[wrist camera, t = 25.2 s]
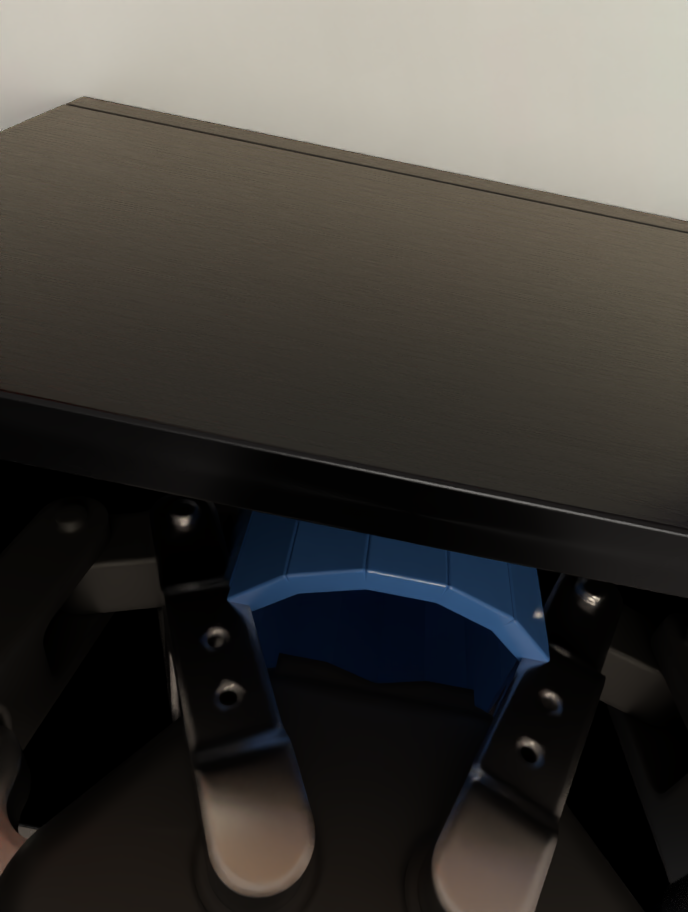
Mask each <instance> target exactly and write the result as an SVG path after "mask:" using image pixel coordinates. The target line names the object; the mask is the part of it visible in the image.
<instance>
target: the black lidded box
mask: <svg viewBox="0 0 688 912" xmlns="http://www.w3.org/2000/svg"><path fill="white" fill-rule="evenodd" d="M168 494H172V495H177V496H181V497H186V498H191V499H196V500H201V501H206V502H211V503H216V504H221V505H226V506H231V507H236V508H241V509H246V510H250V511H255V512H260V513H265V514H270V515H275V516H280V517H285V518H290V519H295V520H300V521H305V522H310V523H314V524H319V525H324V526H329V527H334V528H339V529H344V530H349V531H354V532H359V533H364V534H369V535H374V536H379V537H383V538H388V539H393V540H398V541H403V542H408V543H413V544H418V545H423V546H428V547H433V548H438V549H443V550H447V551H452V552H457V553H462V554H467V555H472V556H477V557H482V558H487V559H492V560H497V561H502V562H507V563H512V564H516V565H521V566H526V567H531V568H536V569H541V570H546V571H551V572H556V573H561V574H566V575H571V576H576V577H581V578H585V579H590V580H595V581H600V582H605V583H610V584H614V585H615V586H616V587H617V588H618V590H619V592H620V594H621V596H622V599H623V603H624V604H625V605H627V606H629V607H630V608H632V609H634V610H636V611H638V612H641V613H643V614H645V615H647V616H649V617H652V618H654V619H656V620H658V621H660V622H663V620H664V619H665V618H666V617H667V616H668V615H670V614H672V613H677V612H683V613H688V222H686V221H682V220H677V219H672V218H667V217H662V216H657V215H653V214H648V213H643V212H638V211H633V210H628V209H624V208H619V207H614V206H609V205H604V204H599V203H595V202H590V201H585V200H580V199H575V198H570V197H566V196H561V195H556V194H551V193H546V192H542V191H537V190H532V189H527V188H522V187H517V186H513V185H508V184H503V183H498V182H493V181H488V180H484V179H479V178H474V177H469V176H464V175H459V174H455V173H450V172H445V171H440V170H435V169H430V168H426V167H421V166H416V165H411V164H406V163H401V162H397V161H392V160H387V159H382V158H377V157H373V156H368V155H363V154H358V153H353V152H348V151H344V150H339V149H334V148H329V147H324V146H319V145H315V144H310V143H305V142H300V141H295V140H290V139H286V138H281V137H276V136H271V135H266V134H261V133H257V132H252V131H247V130H242V129H237V128H233V127H228V126H223V125H218V124H213V123H208V122H204V121H199V120H194V119H189V118H184V117H179V116H175V115H170V114H165V113H160V112H155V111H150V110H146V109H141V108H136V107H131V106H126V105H121V104H117V103H112V102H107V101H102V100H97V99H93V98H88V97H81V98H79V99H76V100H74V101H72V102H69V103H67V104H66V105H61V106H59V107H57V108H54V109H52V110H50V111H47V112H45V113H43V114H40V115H38V116H36V117H33V118H31V119H29V120H26V121H24V122H22V123H19V124H17V125H15V126H12V127H10V128H8V129H5V130H3V131H1V132H0V554H1V552H2V551H3V550H4V549H5V548H6V547H7V546H8V545H9V544H10V543H11V542H12V540H13V539H14V538H15V537H16V536H17V535H18V534H19V533H20V532H21V531H22V530H23V529H24V527H25V526H26V525H27V524H28V523H29V522H30V521H31V520H32V519H33V518H34V517H35V516H36V514H37V513H38V512H39V511H40V510H41V509H42V508H43V507H44V506H46V505H47V504H49V503H51V502H53V501H54V500H57V499H60V498H63V497H68V496H86V497H91V498H93V499H96V500H98V501H99V502H101V503H102V504H103V505H104V506H105V507H106V509H107V511H108V514H119V513H134V512H141V511H146V510H149V509H151V508H152V506H153V505H154V504H155V502H157V501H158V500H159V499H160V498H162V497H163V496H166V495H168ZM171 723H172V720H171V714H170V707H169V699H168V690H167V680H166V672H165V665H164V658H163V651H162V645H161V638H160V632H159V625H158V619H157V612H156V608H147V609H137V610H127V611H117V612H115V613H114V614H113V616H112V617H111V619H110V621H109V622H108V624H107V625H106V627H105V628H104V630H103V631H102V633H101V634H100V636H99V637H98V639H97V640H96V642H95V643H94V645H93V646H92V648H91V649H90V651H89V652H88V654H87V655H86V657H85V658H84V660H83V661H82V663H81V664H80V666H79V667H78V669H77V670H76V672H75V673H74V675H73V676H72V678H71V679H70V681H69V682H68V684H67V685H66V687H65V688H64V690H63V691H62V693H61V694H60V696H59V697H58V699H57V700H56V702H55V703H54V705H53V706H52V708H51V709H50V711H49V712H48V714H47V715H46V717H45V718H44V720H43V721H42V723H41V724H40V726H39V727H38V729H37V731H36V732H35V734H34V735H33V737H32V738H31V740H30V741H29V743H28V744H27V746H26V747H25V749H24V750H23V754H24V756H25V759H26V761H27V764H28V767H29V769H30V773H31V779H32V784H31V791H30V794H29V797H28V799H27V802H26V804H25V806H24V808H23V810H22V813H21V816H20V820H19V826H18V834H20V835H21V836H22V837H24V838H26V839H28V838H29V837H30V836H31V835H32V834H34V833H35V832H36V831H37V830H38V829H39V828H40V827H42V826H43V825H44V824H45V823H47V822H48V821H49V820H50V819H52V818H53V817H54V816H56V815H57V814H58V813H59V812H61V811H62V810H63V809H64V808H66V807H67V806H68V805H69V804H71V803H72V802H73V801H74V800H76V799H77V798H78V797H79V796H81V795H82V794H83V793H85V792H86V791H87V790H88V789H90V788H91V787H92V786H93V785H95V784H96V783H97V782H98V781H100V780H101V779H102V778H103V777H105V776H106V775H107V774H108V773H110V772H111V771H112V770H114V769H115V768H116V767H117V766H119V765H120V764H121V763H122V762H124V761H125V760H126V759H127V758H129V757H130V756H131V755H132V754H134V753H135V752H136V751H137V750H139V749H140V748H141V747H143V746H144V745H145V744H146V743H148V742H149V741H150V740H151V739H153V738H154V737H155V736H156V735H158V734H159V733H160V732H161V731H163V730H164V729H165V728H166V727H168V726H169V725H170V724H171ZM565 803H566V804H567V806H568V807H569V808H570V810H571V811H572V813H573V814H574V815H575V817H576V818H577V819H578V821H579V822H580V824H581V825H582V826H583V828H584V829H585V830H586V832H587V833H588V835H589V836H590V837H591V839H592V840H593V841H594V843H595V844H596V845H597V847H598V848H599V850H600V851H601V852H602V854H603V855H604V856H605V858H606V859H607V861H608V862H609V863H610V865H611V866H612V867H613V869H614V870H615V872H616V873H617V874H618V876H619V877H620V878H621V880H622V881H623V883H624V884H625V885H626V887H627V888H628V889H629V891H630V892H631V894H632V895H633V896H634V898H635V899H636V900H637V902H638V903H639V904H640V906H641V907H642V909H643V910H644V911H645V912H662V898H663V894H664V892H665V890H666V888H667V887H668V886H669V885H670V883H669V880H668V877H667V874H666V871H665V869H664V866H663V863H662V860H661V857H660V855H659V852H658V849H657V846H656V843H655V840H654V838H653V835H652V832H651V829H650V826H649V824H648V821H647V818H646V815H645V812H644V809H643V807H642V804H641V801H640V798H639V795H638V793H637V790H636V787H635V784H634V781H633V778H632V776H631V773H630V770H629V767H628V764H627V762H626V759H625V756H624V753H623V750H622V747H621V745H620V742H619V739H618V736H617V733H616V731H615V728H614V725H613V722H612V719H611V716H610V714H609V711H608V708H607V704H606V703H605V702H603V701H601V700H599V703H598V706H597V709H596V712H595V715H594V718H593V721H592V724H591V727H590V730H589V733H588V736H587V739H586V742H585V745H584V748H583V751H582V754H581V757H580V760H579V763H578V766H577V769H576V772H575V775H574V778H573V781H572V784H571V787H570V790H569V793H568V796H567V799H566V802H565Z"/></svg>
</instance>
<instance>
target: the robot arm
mask: <svg viewBox="0 0 688 912" xmlns="http://www.w3.org/2000/svg"><path fill="white" fill-rule="evenodd" d="M239 509H240V508H236V507H231V506H226V505H221V504H216V503H211V502H206V501H201V500H196V499H191V498H186V497H181V496H177V495H172V494H168V495H166V496H163V497H162V498H160V499H159V500H158V501H157V502H155V504H154V505H153V506H152V508H151V509H149V510H146V511H141V512H134V513H119V514H108V511H107V509H106V507H105V506H104V505H103V504H102V503H101V502H99V501H98V500H96V499H93V498H91V497H86V496H68V497H63V498H60V499H57V500H54V501H53V502H51V503H49V504H47V505H46V506H44V507H43V508H42V509H41V510H40V511H39V512H38V513H37V514H36V516H35V517H34V518H33V519H32V520H31V521H30V522H29V523H28V524H27V525H26V526H25V527H24V529H23V530H22V531H21V532H20V533H19V534H18V535H17V536H16V537H15V538H14V539H13V540H12V542H11V543H10V544H9V545H8V546H7V547H6V548H5V549H4V550H3V551H2V552H1V554H0V912H645V911H644V910H643V909H642V907H641V906H640V904H639V903H638V902H637V900H636V899H635V898H634V896H633V895H632V894H631V892H630V891H629V889H628V888H627V887H626V885H625V884H624V883H623V881H622V880H621V878H620V877H619V876H618V874H617V873H616V872H615V870H614V869H613V867H612V866H611V865H610V863H609V862H608V861H607V859H606V858H605V856H604V855H603V854H602V852H601V851H600V850H599V848H598V847H597V845H596V844H595V843H594V841H593V840H592V839H591V837H590V836H589V835H588V833H587V832H586V830H585V829H584V828H583V826H582V825H581V824H580V822H579V821H578V819H577V818H576V817H575V815H574V814H573V813H572V811H571V810H570V808H569V807H568V806H567V804H566V803H565V802H566V799H567V796H568V793H569V790H570V787H571V784H572V781H573V778H574V775H575V772H576V769H577V766H578V763H579V760H580V757H581V754H582V751H583V748H584V745H585V742H586V739H587V736H588V733H589V730H590V727H591V724H592V721H593V718H594V715H595V712H596V709H597V706H598V703H599V700H601V701H603V702H605V703H606V704H607V708H608V711H609V714H610V716H611V719H612V722H613V725H614V728H615V731H616V733H617V736H618V739H619V742H620V745H621V747H622V750H623V753H624V756H625V759H626V762H627V764H628V767H629V770H630V773H631V776H632V778H633V781H634V784H635V787H636V790H637V793H638V795H639V798H640V801H641V804H642V807H643V809H644V812H645V815H646V818H647V821H648V824H649V826H650V829H651V832H652V835H653V838H654V840H655V843H656V846H657V849H658V852H659V855H660V857H661V860H662V863H663V866H664V869H665V871H666V874H667V877H668V880H669V883H670V885H669V886H668V887H667V888H666V890H665V892H664V894H663V898H662V912H688V613H683V612H677V613H672V614H670V615H668V616H667V617H666V618H665V619H664V620H663V622H660V621H658V620H656V619H654V618H652V617H649V616H647V615H645V614H643V613H641V612H638V611H636V610H634V609H632V608H630V607H629V606H627V605H625V604H624V603H623V599H622V596H621V594H620V592H619V590H618V588H617V587H616V586H615V585H614V584H610V583H605V582H600V581H595V580H590V579H585V578H581V577H576V576H571V575H566V574H561V573H556V572H551V571H546V570H541V569H537V573H538V579H539V586H540V592H541V598H542V605H543V611H544V617H545V624H546V630H547V636H548V643H549V647H548V650H549V656H550V661H549V662H544V661H539V660H533V659H528V658H522V659H521V661H520V662H519V661H518V660H516V662H515V664H514V666H513V668H512V669H511V671H510V672H509V674H508V676H507V677H506V679H505V681H504V682H503V684H502V686H501V687H500V689H499V691H498V692H497V694H496V695H495V697H494V698H493V700H492V702H491V704H490V706H489V708H488V710H487V711H486V712H485V711H484V710H482V709H480V708H478V707H476V706H475V704H474V690H472V689H467V688H462V687H456V686H451V685H446V684H441V683H435V682H430V681H413V682H396V683H374V682H371V681H369V680H366V679H364V678H362V677H360V676H357V675H355V674H353V673H351V672H348V671H346V670H344V669H342V668H339V667H337V666H335V665H333V664H330V663H328V662H325V661H319V660H314V659H309V658H303V657H298V656H293V655H288V654H282V653H279V656H278V660H277V665H276V667H274V668H267V667H266V663H265V659H264V656H263V652H262V649H261V645H260V641H259V638H258V634H257V631H256V627H255V623H254V620H253V616H252V612H251V609H250V605H244V604H239V603H234V602H229V601H228V600H227V596H228V593H229V589H230V587H229V580H223V578H224V575H225V572H226V569H227V566H228V563H229V560H230V556H229V553H228V549H227V543H228V540H229V537H230V534H231V531H232V529H233V526H234V523H235V520H236V517H237V515H238V512H239ZM147 608H156V612H157V619H158V625H159V632H160V638H161V645H162V651H163V658H164V665H165V672H166V680H167V690H168V699H169V707H170V714H171V720H172V723H171V724H170V725H169V726H168V727H166V728H165V729H164V730H163V731H161V732H160V733H159V734H158V735H156V736H155V737H154V738H153V739H151V740H150V741H149V742H148V743H146V744H145V745H144V746H143V747H141V748H140V749H139V750H137V751H136V752H135V753H134V754H132V755H131V756H130V757H129V758H127V759H126V760H125V761H124V762H122V763H121V764H120V765H119V766H117V767H116V768H115V769H114V770H112V771H111V772H110V773H108V774H107V775H106V776H105V777H103V778H102V779H101V780H100V781H98V782H97V783H96V784H95V785H93V786H92V787H91V788H90V789H88V790H87V791H86V792H85V793H83V794H82V795H81V796H79V797H78V798H77V799H76V800H74V801H73V802H72V803H71V804H69V805H68V806H67V807H66V808H64V809H63V810H62V811H61V812H59V813H58V814H57V815H56V816H54V817H53V818H52V819H50V820H49V821H48V822H47V823H45V824H44V825H43V826H42V827H40V828H39V829H38V830H37V831H36V832H35V833H34V834H32V835H31V836H30V837H29V838H28V839H26V838H24V837H22V836H21V835H20V834H18V826H19V820H20V816H21V813H22V810H23V808H24V806H25V804H26V802H27V799H28V797H29V794H30V791H31V784H32V779H31V773H30V769H29V767H28V764H27V761H26V759H25V756H24V754H23V750H24V749H25V747H26V746H27V744H28V743H29V741H30V740H31V738H32V737H33V735H34V734H35V732H36V731H37V729H38V727H39V726H40V724H41V723H42V721H43V720H44V718H45V717H46V715H47V714H48V712H49V711H50V709H51V708H52V706H53V705H54V703H55V702H56V700H57V699H58V697H59V696H60V694H61V693H62V691H63V690H64V688H65V687H66V685H67V684H68V682H69V681H70V679H71V678H72V676H73V675H74V673H75V672H76V670H77V669H78V667H79V666H80V664H81V663H82V661H83V660H84V658H85V657H86V655H87V654H88V652H89V651H90V649H91V648H92V646H93V645H94V643H95V642H96V640H97V639H98V637H99V636H100V634H101V633H102V631H103V630H104V628H105V627H106V625H107V624H108V622H109V621H110V619H111V617H112V616H113V614H114V613H115V612H117V611H127V610H137V609H147Z"/></svg>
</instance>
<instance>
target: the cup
mask: <svg viewBox="0 0 688 912" xmlns="http://www.w3.org/2000/svg"><path fill="white" fill-rule="evenodd" d="M227 549H228V553H229V556H230V560H229V563H228V566H227V569H226V572H225V575H224V578H223V580H229V587H230V589H229V593H228V596H227V600H228V601H229V602H234V603H239V604H244V605H250V609H251V612H252V616H253V620H254V623H255V627H256V631H257V634H258V638H259V641H260V645H261V649H262V652H263V656H264V659H265V663H266V667H267V668H274V667H276V665H277V660H278V656H279V653H282V654H288V655H293V656H298V657H303V658H309V659H314V660H319V661H325V662H328V663H330V664H333V665H335V666H337V667H339V668H342V669H344V670H346V671H348V672H351V673H353V674H355V675H357V676H360V677H362V678H364V679H366V680H369V681H371V682H374V683H396V682H413V681H430V682H435V683H441V684H446V685H451V686H456V687H462V688H467V689H472V690H474V704H475V706H476V707H478V708H480V709H482V710H484V711H485V712H486V711H487V710H488V708H489V706H490V704H491V702H492V700H493V698H494V697H495V695H496V694H497V692H498V691H499V689H500V687H501V686H502V684H503V682H504V681H505V679H506V677H507V676H508V674H509V672H510V671H511V669H512V668H513V666H514V664H515V662H516V660H518V661H519V662H520V661H521V659H522V658H528V659H533V660H539V661H544V662H549V661H550V656H549V650H548V647H549V643H548V636H547V630H546V624H545V617H544V611H543V605H542V598H541V592H540V586H539V579H538V573H537V569H536V568H531V567H526V566H521V565H516V564H512V563H507V562H502V561H497V560H492V559H487V558H482V557H477V556H472V555H467V554H462V553H457V552H452V551H447V550H443V549H438V548H433V547H428V546H423V545H418V544H413V543H408V542H403V541H398V540H393V539H388V538H383V537H379V536H374V535H369V534H364V533H359V532H354V531H349V530H344V529H339V528H334V527H329V526H324V525H319V524H314V523H310V522H305V521H300V520H295V519H290V518H285V517H280V516H275V515H270V514H265V513H260V512H255V511H250V510H246V509H241V508H240V509H239V512H238V515H237V517H236V520H235V523H234V526H233V529H232V531H231V534H230V537H229V540H228V543H227Z"/></svg>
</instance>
